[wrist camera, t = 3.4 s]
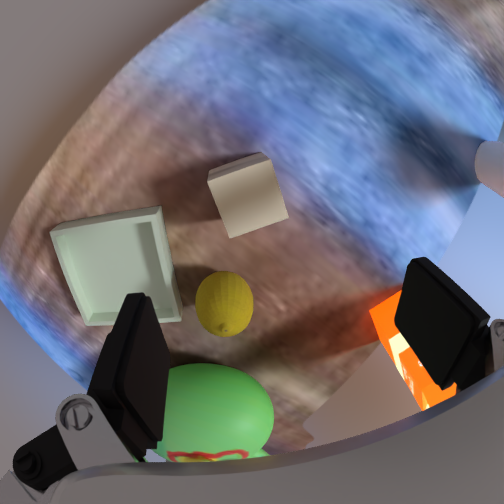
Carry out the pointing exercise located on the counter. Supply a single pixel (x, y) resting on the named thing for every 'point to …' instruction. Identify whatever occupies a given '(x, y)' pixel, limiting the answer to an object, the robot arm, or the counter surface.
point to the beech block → (247, 194)
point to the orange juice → (406, 356)
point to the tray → (118, 263)
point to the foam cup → (491, 165)
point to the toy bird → (214, 415)
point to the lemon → (224, 303)
